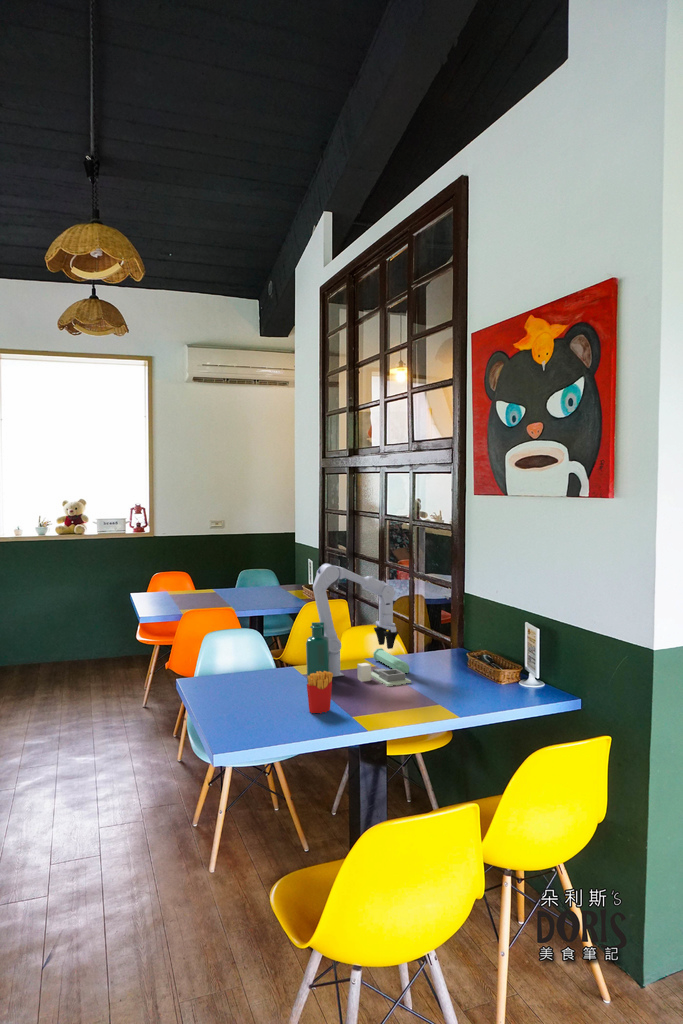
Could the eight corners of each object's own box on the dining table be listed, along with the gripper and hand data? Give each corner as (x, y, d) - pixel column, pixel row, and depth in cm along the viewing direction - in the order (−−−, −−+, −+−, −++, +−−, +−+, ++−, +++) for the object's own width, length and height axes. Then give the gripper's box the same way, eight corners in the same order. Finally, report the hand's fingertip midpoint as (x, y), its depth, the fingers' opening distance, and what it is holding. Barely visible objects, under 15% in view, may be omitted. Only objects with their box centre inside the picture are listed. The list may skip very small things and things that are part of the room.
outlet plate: (387, 686, 257) (387, 677, 256) (367, 674, 273) (367, 666, 273) (411, 683, 260) (410, 674, 260) (389, 671, 277) (389, 663, 277)
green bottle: (329, 684, 259) (327, 627, 258) (306, 685, 259) (305, 627, 258) (330, 677, 269) (328, 621, 268) (308, 677, 269) (307, 622, 268)
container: (409, 659, 273) (382, 645, 296) (397, 666, 271) (371, 651, 294) (414, 672, 274) (387, 657, 297) (402, 679, 272) (375, 663, 295)
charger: (361, 681, 264) (361, 666, 263) (357, 679, 267) (357, 663, 267) (371, 680, 265) (371, 665, 265) (366, 677, 269) (366, 662, 269)
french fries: (311, 715, 225) (311, 676, 224) (305, 711, 228) (304, 673, 228) (335, 710, 230) (335, 671, 229) (328, 706, 233) (328, 669, 233)
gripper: (403, 615, 274) (403, 649, 274) (386, 609, 287) (386, 642, 287) (387, 616, 271) (387, 651, 271) (371, 611, 284) (371, 643, 285)
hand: (385, 646), depth 279 cm, fingers open, 7 cm apart
